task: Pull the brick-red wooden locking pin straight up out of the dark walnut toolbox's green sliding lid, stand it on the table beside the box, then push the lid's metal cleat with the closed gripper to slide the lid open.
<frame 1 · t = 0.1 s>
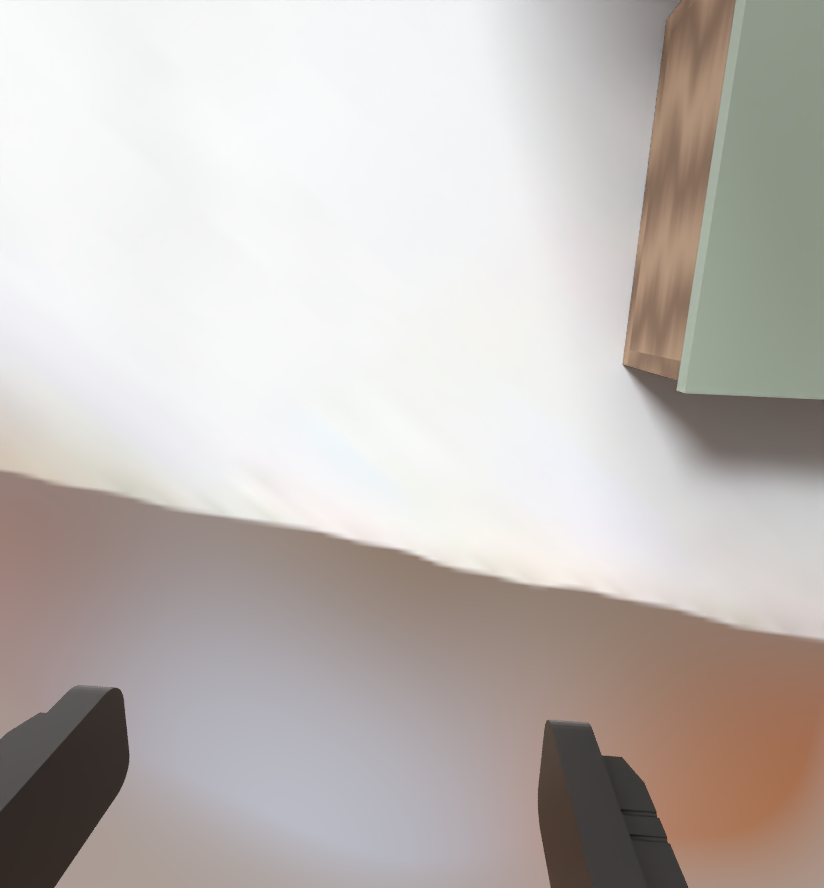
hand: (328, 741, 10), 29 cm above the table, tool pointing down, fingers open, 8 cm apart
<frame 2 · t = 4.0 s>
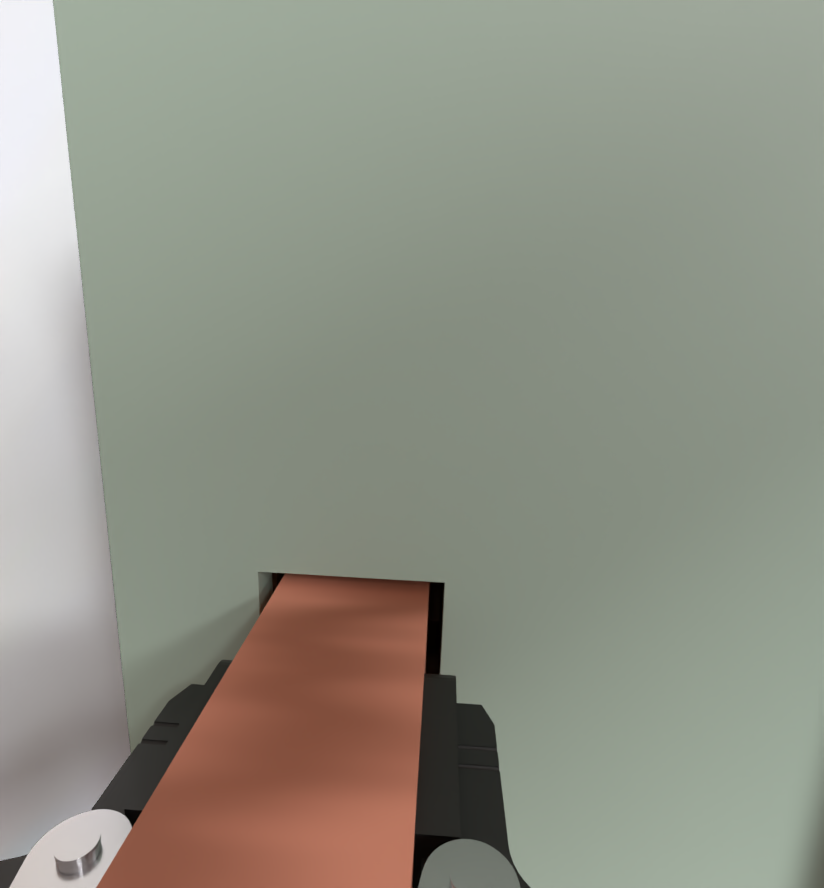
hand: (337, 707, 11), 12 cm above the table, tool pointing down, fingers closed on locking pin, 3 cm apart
toolbox: (514, 515, 22), on the table
toolbox lid: (578, 704, 12), point 11 cm above the table, slide at 0.0 cm
locking pin: (379, 555, 18), point 5 cm above the table, touching gripper, toolbox
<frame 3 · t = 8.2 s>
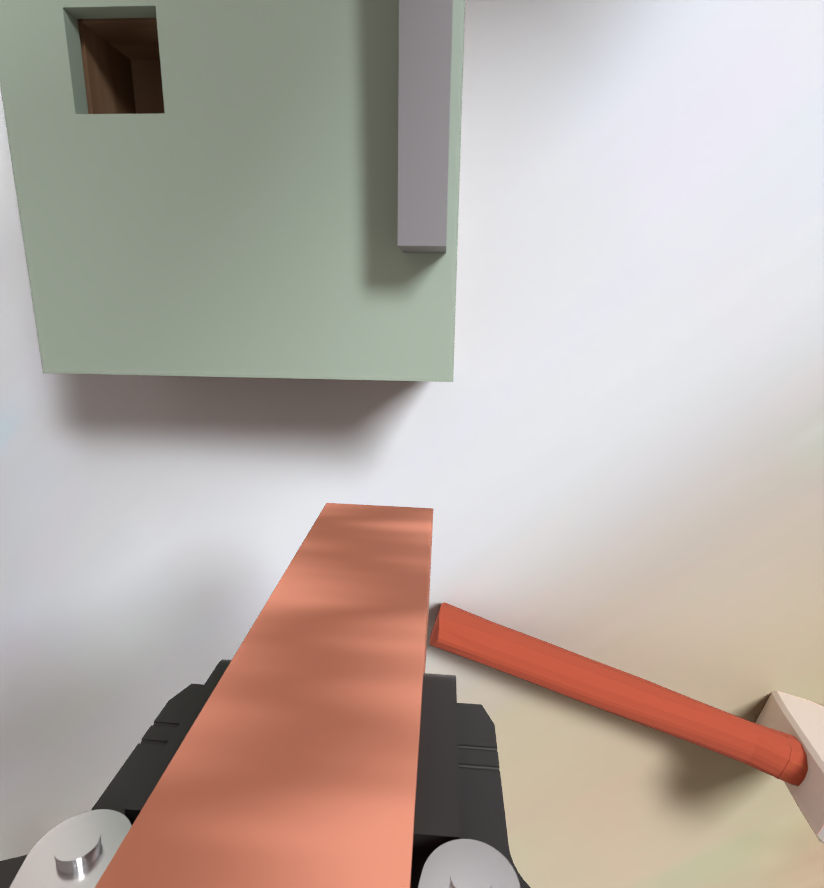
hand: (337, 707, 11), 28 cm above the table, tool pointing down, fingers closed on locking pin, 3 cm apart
toolbox: (288, 130, 34), on the table
mallet: (627, 664, 42), on the table
toolbox lid: (214, 49, 23), point 11 cm above the table, slide at 0.0 cm
locking pin: (378, 555, 18), point 21 cm above the table, touching gripper
when the fingers open (8 cm above the table, at t = 12.5 s): locking pin drops 2 cm, on the table.
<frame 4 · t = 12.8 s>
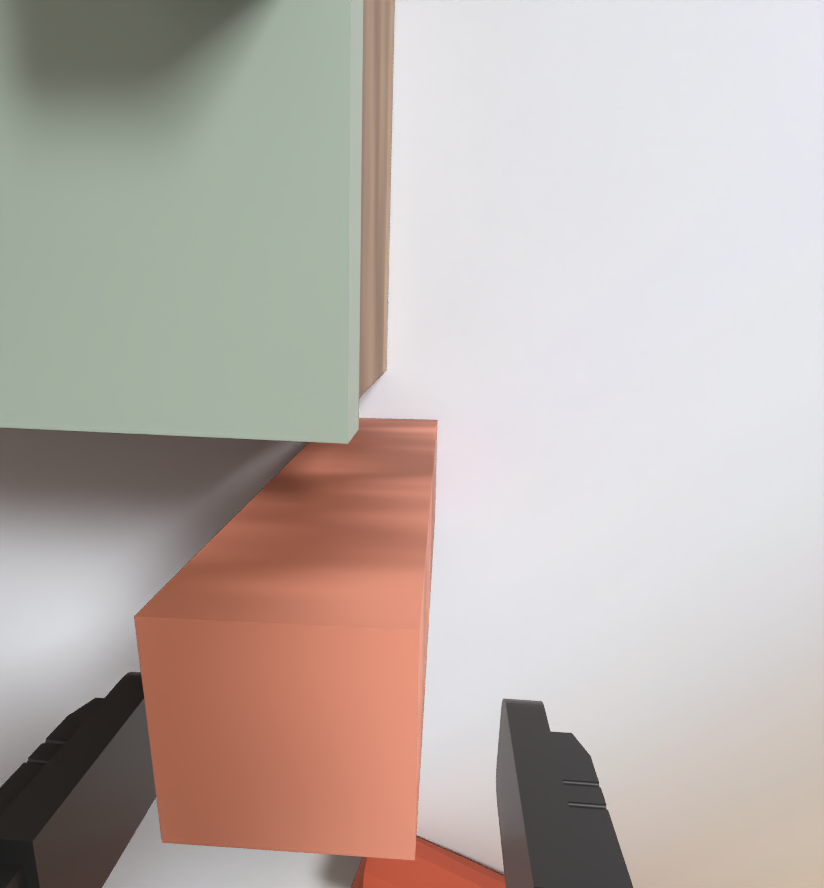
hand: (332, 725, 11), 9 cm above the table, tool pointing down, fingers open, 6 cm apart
locking pin: (385, 468, 18), on the table
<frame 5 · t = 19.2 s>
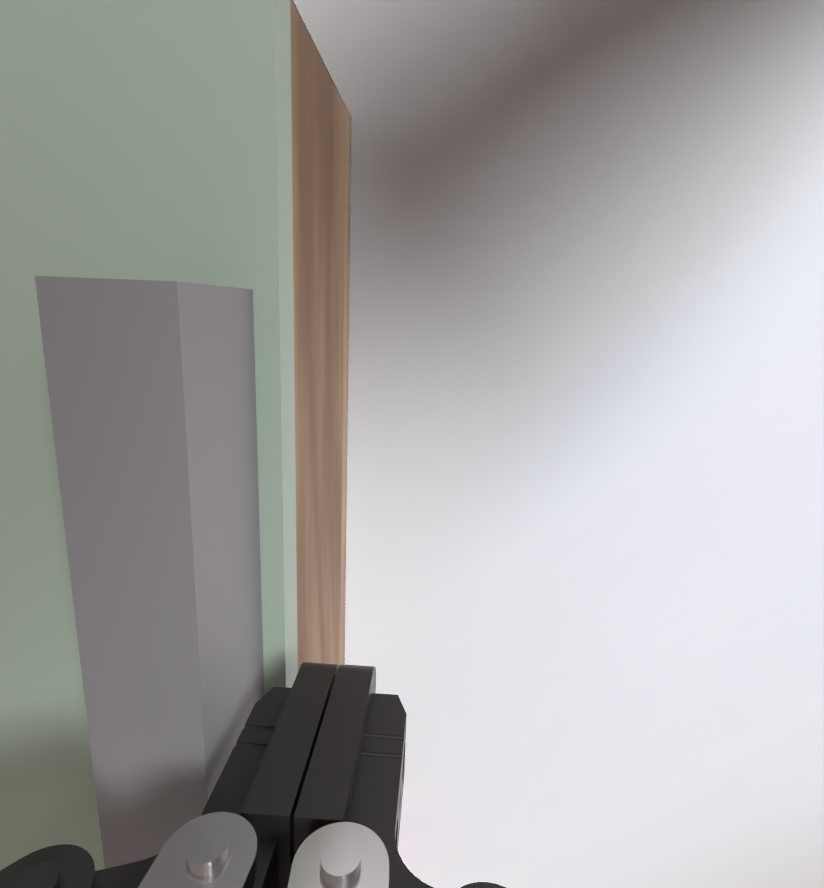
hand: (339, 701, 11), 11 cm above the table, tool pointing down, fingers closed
toolbox: (103, 491, 23), on the table
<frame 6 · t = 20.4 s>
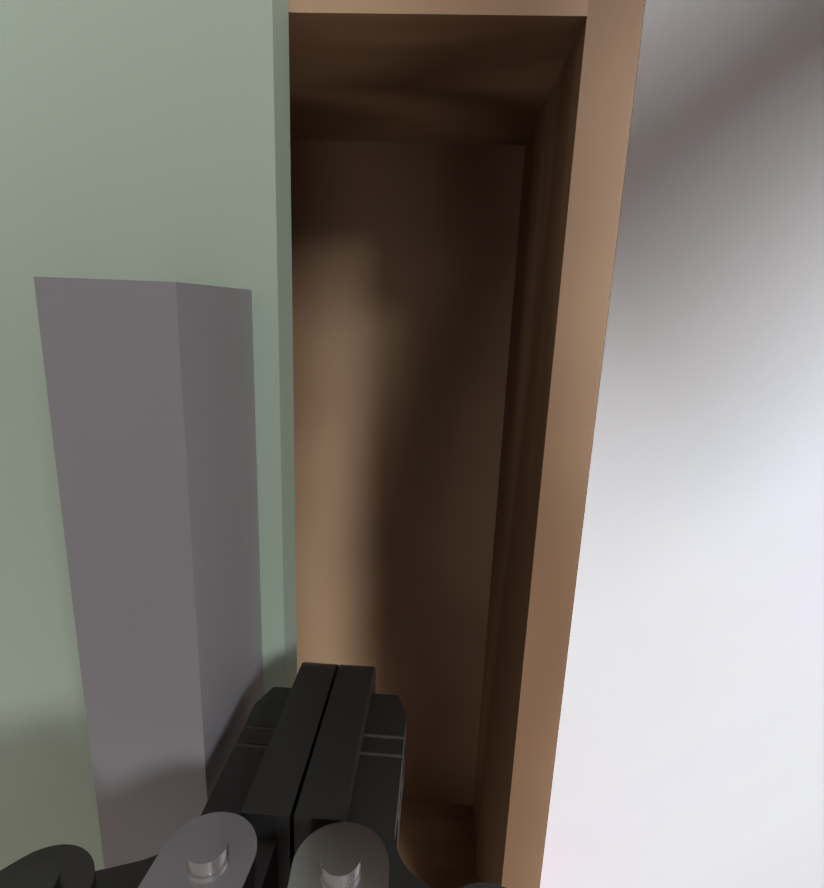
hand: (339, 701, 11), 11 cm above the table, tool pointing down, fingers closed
toolbox: (268, 502, 22), on the table
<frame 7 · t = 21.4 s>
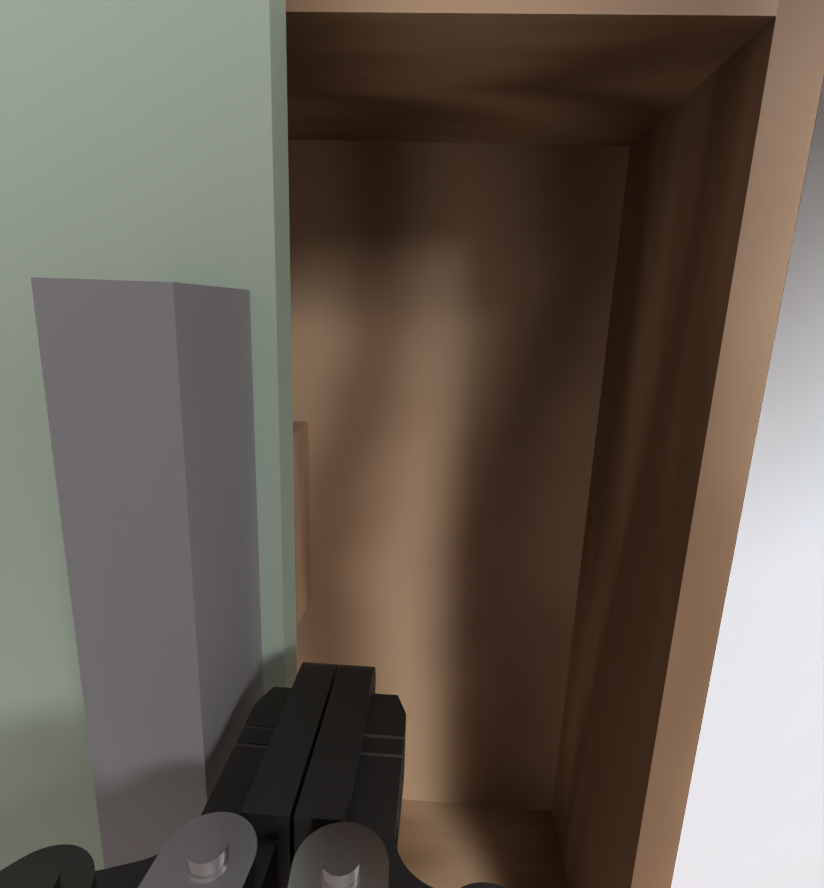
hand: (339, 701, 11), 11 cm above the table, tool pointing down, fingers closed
toolbox: (350, 506, 22), on the table
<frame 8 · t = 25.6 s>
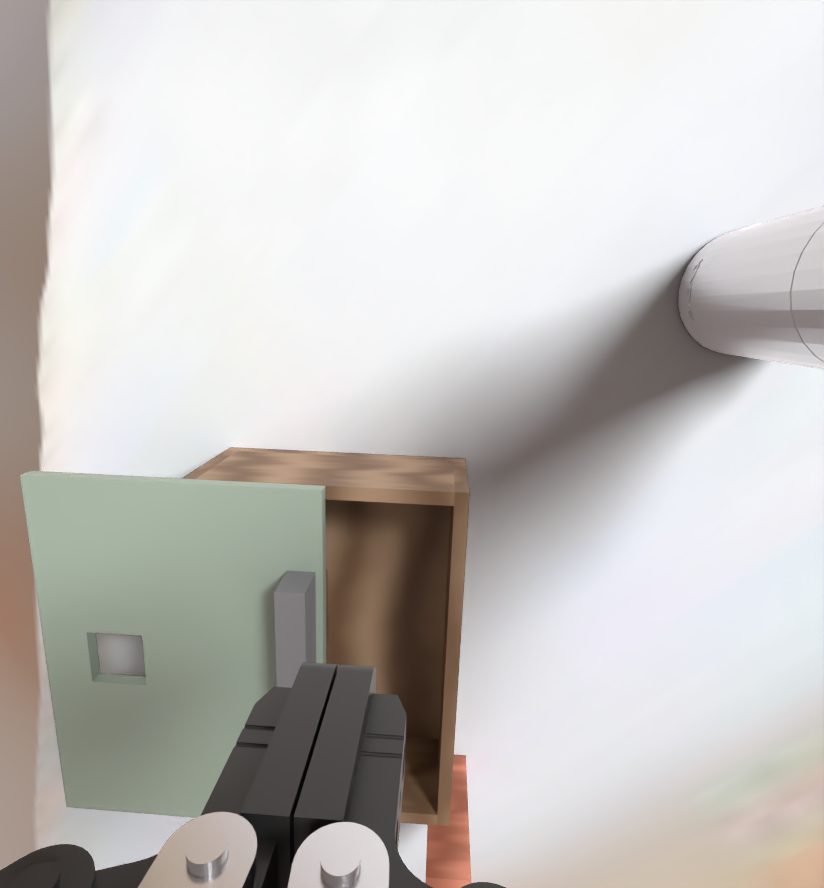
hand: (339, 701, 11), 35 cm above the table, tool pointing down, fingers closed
toolbox: (345, 602, 50), on the table
toolbox lid: (176, 672, 40), point 11 cm above the table, slide at 10.4 cm
locking pin: (447, 769, 53), on the table
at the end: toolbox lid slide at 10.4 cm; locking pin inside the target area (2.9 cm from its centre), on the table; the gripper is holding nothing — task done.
